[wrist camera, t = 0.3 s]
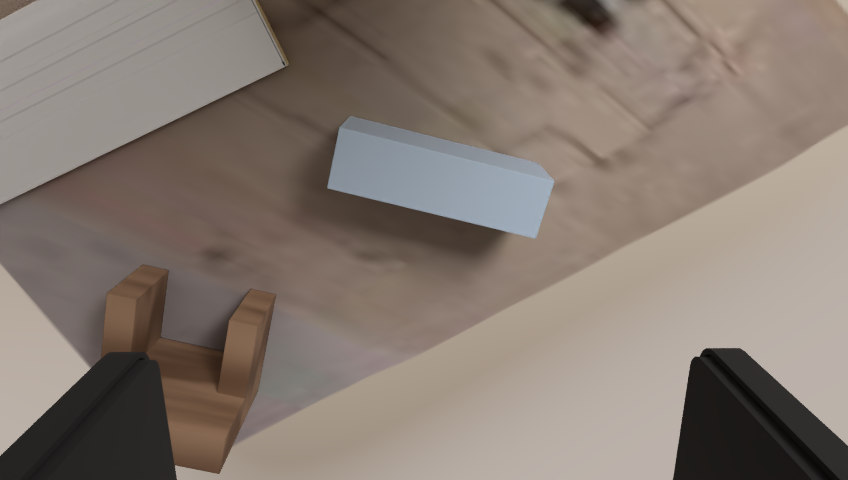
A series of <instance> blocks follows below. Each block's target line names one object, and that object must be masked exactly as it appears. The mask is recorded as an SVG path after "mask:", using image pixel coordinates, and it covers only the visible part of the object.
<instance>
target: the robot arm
mask: <svg viewBox="0 0 848 480" xmlns="http://www.w3.org/2000/svg"><path fill="white" fill-rule="evenodd" d="M0 480H177V479H176V471H175V465H174V458H173V452H172V445H171V439H170V432H169V426H168V419H167V413H166V406H165V400H164V393H163V387H162V380H161V373H160V368H159V364H158V363H157V361H156V360H150V359H149V357H148V355H147V354H146V353H145V352H109V353H107V354H106V355H105V356H103V357H102V358H101V359H100V360H99V361H98V362H97V363H96V364H95V365H94V366H93V367H92V368H91V369H90V370H89V371H88V372H87V373H86V374H85V375H84V376H83V377H82V378H81V379H80V380H79V381H78V382H77V383H76V384H75V385H73V386H72V387H71V388H70V389H69V390H68V391H67V392H66V393H65V394H64V395H63V396H62V397H61V398H60V399H59V400H58V401H57V402H56V403H55V404H54V405H53V406H52V407H51V408H50V409H49V410H47V411H46V412H45V413H44V414H43V415H42V416H41V417H40V418H39V419H38V420H37V421H36V422H35V423H34V424H33V425H32V426H31V427H30V428H29V429H28V430H27V431H26V432H25V433H24V434H23V435H22V436H20V437H19V438H18V439H17V441H16V442H14V443H13V444H12V445H11V446H10V447H9V448H8V449H7V450H6V451H5V452H4V453H3V454H2V455H1V456H0ZM673 480H848V446H847V445H846V444H845V443H844V442H843V441H842V440H841V439H840V438H839V437H838V436H836V435H835V434H834V433H833V432H832V431H831V430H830V429H829V428H828V427H827V426H825V425H824V424H823V423H822V422H821V421H820V420H819V419H818V418H817V417H816V416H815V415H814V414H812V413H811V412H810V411H809V410H808V409H807V408H806V407H805V406H804V405H802V403H800V402H799V401H798V400H797V399H796V398H795V397H794V396H793V395H792V394H790V393H789V392H788V391H787V390H786V389H785V388H784V387H783V386H782V385H781V384H780V383H779V382H778V381H776V380H775V379H774V378H773V377H772V376H771V375H770V374H769V373H768V372H766V371H765V370H764V369H763V368H762V367H761V366H760V365H759V364H758V363H757V362H756V361H754V360H753V359H752V358H751V357H750V356H749V355H748V354H747V353H746V352H745V351H743V350H742V349H740V348H713V349H712V348H711V349H710V348H706V349H705V350H703V351H702V353H701V355H700V357H694V358H693V359H692V361H691V365H690V371H689V377H688V384H687V390H686V397H685V404H684V411H683V417H682V424H681V430H680V437H679V444H678V450H677V457H676V464H675V471H674V477H673Z"/></svg>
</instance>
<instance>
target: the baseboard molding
mask: <svg viewBox="0 0 848 480" xmlns="http://www.w3.org/2000/svg"><path fill="white" fill-rule="evenodd" d="M288 65H289V62H288V60H287V58H286V56H285V54H284V52H283V50H282V48H281V46H280V44H279V42H278V40H277V38H276V36H275V34H274V32H273V30H272V28H271V26H270V24H269V22H268V20H267V18H266V16H265V14H264V12H263V10H262V8H261V6H260V4H259V2H258V0H36V1H34V2H33V3H31V4H29V5H27V6H25V7H23V8H21V9H19V10H18V11H16V12H14V13H12V14H10V15H8V16H6V17H4V18H2V19H1V20H0V204H2V203H4V202H6V201H8V200H11V199H13V198H15V197H17V196H19V195H21V194H23V193H25V192H27V191H29V190H31V189H33V188H35V187H37V186H40V185H42V184H44V183H46V182H48V181H50V180H52V179H54V178H56V177H58V176H60V175H62V174H64V173H66V172H68V171H71V170H73V169H75V168H77V167H79V166H81V165H83V164H85V163H87V162H89V161H91V160H93V159H95V158H97V157H100V156H102V155H104V154H106V153H108V152H110V151H112V150H114V149H116V148H118V147H120V146H122V145H124V144H126V143H128V142H131V141H133V140H135V139H137V138H139V137H141V136H143V135H145V134H147V133H149V132H151V131H153V130H155V129H157V128H160V127H162V126H164V125H166V124H168V123H170V122H172V121H174V120H176V119H178V118H180V117H182V116H184V115H186V114H189V113H191V112H193V111H195V110H197V109H199V108H201V107H203V106H205V105H207V104H209V103H211V102H213V101H215V100H217V99H220V98H222V97H224V96H226V95H228V94H230V93H232V92H234V91H236V90H238V89H240V88H242V87H244V86H246V85H249V84H251V83H253V82H255V81H257V80H259V79H261V78H263V77H265V76H267V75H269V74H271V73H273V72H275V71H277V70H280V69H282V68H284V67H286V66H288Z"/></svg>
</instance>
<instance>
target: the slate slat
mask: <svg viewBox="0 0 848 480" xmlns="http://www.w3.org/2000/svg"><path fill="white" fill-rule="evenodd" d="M553 184H554V180H553V179H552V178H551V177H550V176H549V175H548V173H547V172H546V171H545V170H544V169H543V168H542V167H541V166H540V165H539V164H538V163H536V162H532V161H528V160H524V159H520V158H516V157H512V156H508V155H504V154H500V153H496V152H492V151H488V150H484V149H480V148H476V147H472V146H468V145H464V144H460V143H456V142H452V141H449V140H445V139H441V138H437V137H433V136H429V135H425V134H421V133H417V132H413V131H409V130H405V129H401V128H397V127H393V126H389V125H385V124H381V123H377V122H373V121H369V120H365V119H361V118H357V117H353V116H350V117H349V118H348V119H347V120H346V121H345V122H344V123H343V124H342V125H341V126H340V128H339V132H338V137H337V142H336V147H335V152H334V157H333V162H332V167H331V172H330V177H329V181H328V186H327V188H328V189H332V190H336V191H340V192H345V193H349V194H353V195H357V196H361V197H365V198H369V199H374V200H378V201H382V202H386V203H390V204H394V205H398V206H403V207H407V208H411V209H415V210H419V211H423V212H427V213H432V214H436V215H440V216H444V217H448V218H452V219H456V220H461V221H465V222H469V223H473V224H477V225H481V226H485V227H490V228H494V229H498V230H502V231H506V232H510V233H515V234H519V235H523V236H527V237H531V238H535V239H536V236H537V233H538V230H539V227H540V224H541V221H542V218H543V215H544V212H545V209H546V206H547V202H548V199H549V196H550V193H551V190H552V187H553Z"/></svg>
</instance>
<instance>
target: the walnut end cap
mask: <svg viewBox="0 0 848 480" xmlns="http://www.w3.org/2000/svg"><path fill="white" fill-rule="evenodd" d="M168 272H169V270H165V269H160V268H156V267H151V266H147V265H141V266H140V267H139V268H138V269H137V270H135V271H134V272H133V273H132V274H130V275H129V276H128V277H127V278H125V279H124V280H123V281H122V282H120V283H119V284H118V285H117V286H115V287H114V288H113V289H112V290H111V291H109V292H108V293H107V298H106V309H105V320H104V332H103V343H102V354H101V358H102V357H103V356H105V355H106V354H107V353H109V352H145V353H146V354H147V355H148V357H149V359H150V360H156V361H157V363H158V364H159V368H160V373H161V380H162V387H163V393H164V400H165V406H166V413H167V419H168V426H169V432H170V439H171V445H172V452H173V458H174V465H177V466H182V467H187V468H192V469H197V470H202V471H207V472H212V473H217V474H219V473H220V471H221V469H222V467H223V465H224V463H225V460H226V458H227V456H228V454H229V452H230V450H231V447H232V445H233V443H234V441H235V439H236V437H237V435H238V432H239V430H240V428H241V426H242V424H243V422H244V420H245V417H246V415H247V413H248V411H249V409H250V407H251V405H252V402H253V400H254V398H255V396H256V394H257V392H258V388H259V382H260V377H261V372H262V367H263V361H264V356H265V351H266V345H267V340H268V335H269V329H270V324H271V319H272V313H273V308H274V303H275V297H276V294H271V293H267V292H262V291H258V290H254V289H250V291H249V292H248V294H247V295H246V297H245V298H244V299H243V301H242V302H241V304H240V305H239V307H238V308H237V310H236V311H235V313H234V314H233V316H232V317H231V318H230V320H229V325H228V331H227V337H226V343H225V349H224V351H220V350H216V349H211V348H206V347H202V346H197V345H192V344H188V343H183V342H179V341H174V340H169V339H165V338H160V337H161V329H162V321H163V313H164V305H165V296H166V288H167V280H168Z"/></svg>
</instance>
